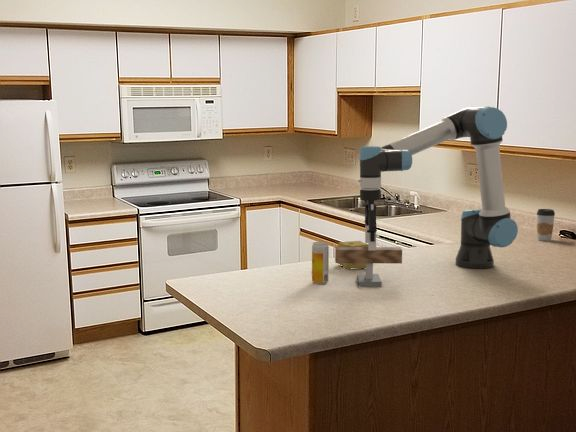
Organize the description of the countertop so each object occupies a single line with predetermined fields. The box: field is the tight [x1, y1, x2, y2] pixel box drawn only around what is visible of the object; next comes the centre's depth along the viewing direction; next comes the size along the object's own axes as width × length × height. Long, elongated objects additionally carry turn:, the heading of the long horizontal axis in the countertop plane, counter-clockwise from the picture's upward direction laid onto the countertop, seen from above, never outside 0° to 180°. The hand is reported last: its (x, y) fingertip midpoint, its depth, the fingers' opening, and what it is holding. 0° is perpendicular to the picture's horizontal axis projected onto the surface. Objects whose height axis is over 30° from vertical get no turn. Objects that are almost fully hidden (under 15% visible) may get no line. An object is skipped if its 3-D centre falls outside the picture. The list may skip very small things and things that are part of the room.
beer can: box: [311, 241, 330, 286], centre depth 252 cm, size 6×6×15 cm
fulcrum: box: [356, 263, 383, 288], centre depth 252 cm, size 8×12×8 cm, turn 178°
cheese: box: [337, 240, 368, 270], centre depth 279 cm, size 10×11×10 cm
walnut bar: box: [334, 246, 403, 264], centre depth 251 cm, size 24×5×5 cm, turn 88°
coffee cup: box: [536, 208, 556, 242], centre depth 334 cm, size 8×8×15 cm
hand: (370, 246), depth 251 cm, fingers open, 13 cm apart
